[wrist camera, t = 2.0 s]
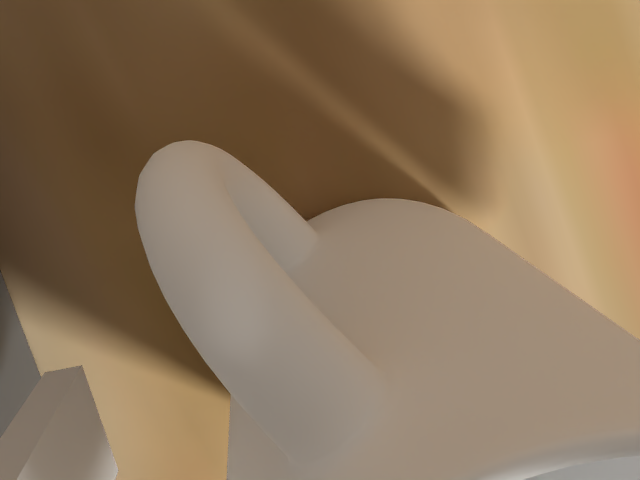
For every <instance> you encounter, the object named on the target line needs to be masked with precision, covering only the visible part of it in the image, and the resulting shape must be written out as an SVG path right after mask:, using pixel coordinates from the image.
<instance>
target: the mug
mask: <svg viewBox="0 0 640 480" xmlns="http://www.w3.org/2000/svg"><path fill="white" fill-rule="evenodd" d="M135 213H136V219H137V226H138V230H139V233H140V237H141V240H142V243H143V246H144V249H145V252H146V255H147V258H148V261H149V264H150V267H151V270H152V272H153V274H154V276H155V278H156V281H157V283H158V285H159V287H160V289H161V291H162V294H163V296H164V298H165V300H166V301H167V303H168V305H169V306H170V308H171V310H172V312H173V313H174V315H175V317H176V318H177V320H178V322H179V323H180V325H181V327H182V329H183V330H184V332H185V333H186V335H187V336H188V338H189V339H190V340H191V342H192V343H193V345H194V346H195V348H196V349H197V351H198V352H199V354H200V355H201V356H202V358H203V359H204V361H205V362H206V364H207V365H208V366H209V367H210V369H211V370H212V371H213V372H214V374H215V375H216V376H217V378H218V379H219V380H220V381H221V383H222V384H223V385H224V386H225V388H226V389H227V390H228V391H229V393H230V394H231V399H230V420H229V441H228V462H227V480H640V340H639V339H637V338H636V337H634V336H633V335H632V334H630V333H629V332H627V331H626V330H624V329H623V328H622V327H620V326H619V325H617V324H616V323H615V322H613V321H612V320H610V319H609V318H607V317H606V316H605V315H603V314H602V313H600V312H599V311H597V310H596V309H595V308H593V307H592V306H590V305H589V304H587V303H586V302H585V301H583V300H582V299H580V298H579V297H578V296H576V295H575V294H573V293H572V292H570V291H569V290H568V289H566V288H565V287H563V286H562V285H560V284H559V283H558V282H556V281H555V280H553V279H552V278H551V277H549V276H548V275H546V274H545V273H543V272H542V271H541V270H539V269H538V268H536V267H535V266H533V265H532V264H531V263H529V262H528V261H526V260H525V259H523V258H522V257H521V256H519V255H518V254H516V253H515V252H514V251H512V250H511V249H509V248H508V247H506V246H505V245H504V244H502V243H501V242H499V241H498V240H496V239H495V238H494V237H492V236H491V235H489V234H488V233H486V232H485V231H483V230H482V229H480V228H479V227H477V226H475V225H474V224H472V223H471V222H469V221H468V220H466V219H464V218H462V217H460V216H458V215H456V214H454V213H452V212H450V211H447V210H445V209H443V208H440V207H437V206H434V205H430V204H427V203H423V202H419V201H413V200H406V199H394V198H379V199H370V200H361V201H357V202H354V203H350V204H346V205H342V206H339V207H337V208H334V209H331V210H329V211H326V212H324V213H322V214H320V215H318V216H316V217H314V218H312V219H310V220H308V221H305V220H304V219H303V218H302V217H301V216H300V215H299V214H298V213H297V212H296V211H295V210H294V209H293V208H292V207H291V206H290V205H289V204H288V203H287V202H286V201H285V200H284V199H283V198H282V197H281V196H280V195H279V194H278V193H277V192H276V191H275V190H274V189H273V188H272V187H270V186H269V185H268V184H267V183H266V182H265V181H264V180H263V179H261V178H260V177H259V176H258V175H257V174H255V173H254V172H253V171H252V170H250V169H249V168H248V167H247V166H245V165H244V164H243V163H241V162H240V161H239V160H237V159H236V158H235V157H233V156H232V155H230V154H229V153H227V152H225V151H224V150H222V149H220V148H218V147H216V146H213V145H210V144H207V143H203V142H199V141H193V140H186V141H179V142H174V143H171V144H169V145H167V146H165V147H163V148H162V149H160V150H158V151H157V152H155V153H153V155H152V156H151V158H150V159H149V161H148V162H147V164H146V165H145V167H144V168H143V170H142V172H141V173H140V175H139V180H138V185H137V191H136V199H135Z"/></svg>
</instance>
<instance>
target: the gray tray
mask: <svg viewBox="0 0 640 480" xmlns="http://www.w3.org/2000/svg"><path fill="white" fill-rule="evenodd" d="M40 379H41V376H40V374H39V371H38V368H37V366H36V363H35V360H34V358H33V355H32V353H31V350H30V347H29V345H28V342H27V339H26V337H25V334H24V332H23V329H22V326H21V324H20V321H19V318H18V316H17V313H16V311H15V308H14V305H13V303H12V300H11V298H10V295H9V292H8V290H7V287H6V284H5V282H4V279H3V277H2V274H1V271H0V438H1V436H2V435H3V433H4V432H5V430H6V429H7V427H8V426H9V425H10V423H11V422H12V420H13V419H14V417H15V416H16V414H17V413H18V411H19V410H20V408H21V407H22V405H23V404H24V402H25V401H26V399H27V398H28V396H29V395H30V394H31V392H32V391H33V389H34V388H35V386H36V385H37V383H38V382H39V380H40Z"/></svg>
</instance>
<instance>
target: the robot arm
mask: <svg viewBox="0 0 640 480" xmlns="http://www.w3.org/2000/svg"><path fill="white" fill-rule="evenodd" d="M117 473H118V468H117V465H116V462H115V459H114V456H113V453H112V450H111V448H110V445H109V442H108V439H107V436H106V433H105V430H104V427H103V425H102V422H101V419H100V416H99V413H98V410H97V407H96V405H95V402H94V399H93V396H92V393H91V390H90V387H89V384H88V382H87V379H86V376H85V373H84V370H83V367H82V365H81V366H76V367H71V368H66V369H61V370H56V371H50V372H45V373H44V374H43V376H42V377H41V379H40V380H39V382H38V383H37V385H36V386H35V388H34V389H33V391H32V392H31V394H30V395H29V396H28V398H27V399H26V401H25V402H24V404H23V405H22V407H21V408H20V410H19V411H18V413H17V414H16V416H15V417H14V419H13V420H12V422H11V423H10V425H9V426H8V427H7V429H6V430H5V432H4V433H3V435H2V436H1V438H0V480H115V479H116V476H117Z"/></svg>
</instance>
